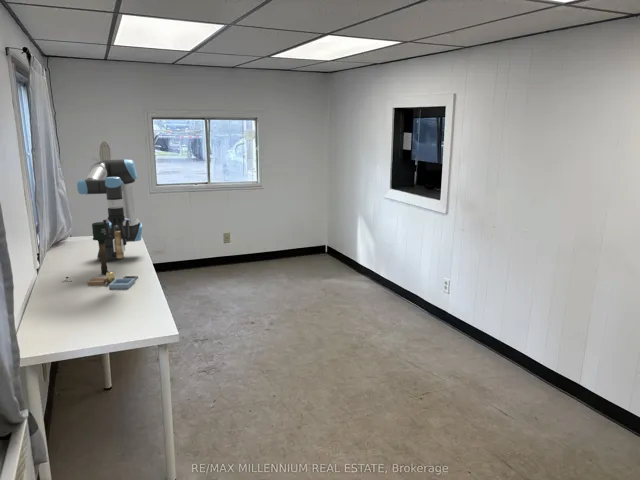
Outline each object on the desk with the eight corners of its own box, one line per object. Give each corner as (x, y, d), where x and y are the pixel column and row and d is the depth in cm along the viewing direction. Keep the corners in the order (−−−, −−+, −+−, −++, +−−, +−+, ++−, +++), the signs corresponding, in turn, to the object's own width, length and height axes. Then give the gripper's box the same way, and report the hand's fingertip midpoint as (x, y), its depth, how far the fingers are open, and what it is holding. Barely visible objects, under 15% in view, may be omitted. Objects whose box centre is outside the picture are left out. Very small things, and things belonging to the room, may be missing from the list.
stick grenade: (106, 276, 270) (101, 225, 263) (93, 275, 272) (87, 224, 265) (116, 272, 278) (111, 222, 271) (102, 271, 280) (97, 221, 273)
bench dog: (109, 281, 262) (107, 271, 260) (116, 281, 262) (115, 271, 260) (106, 284, 258) (104, 273, 256) (113, 284, 258) (112, 273, 256)
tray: (116, 282, 260) (116, 278, 259) (135, 282, 260) (134, 278, 259) (109, 289, 250) (108, 284, 249) (128, 289, 250) (128, 284, 250)
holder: (125, 278, 268) (125, 276, 268) (138, 278, 268) (137, 276, 268) (120, 282, 261) (120, 280, 261) (133, 282, 261) (133, 280, 261)
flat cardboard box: (93, 281, 263) (93, 277, 262) (108, 281, 264) (108, 277, 263) (88, 286, 255) (87, 282, 255) (103, 286, 256) (103, 281, 255)
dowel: (118, 256, 254) (115, 230, 250) (125, 256, 254) (122, 230, 250) (115, 258, 250) (113, 232, 247) (122, 258, 250) (120, 232, 247)
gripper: (96, 208, 242) (100, 253, 247) (129, 208, 242) (133, 252, 248) (102, 206, 249) (106, 249, 254) (134, 206, 250) (138, 249, 255)
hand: (119, 251), depth 251 cm, fingers closed on dowel, 3 cm apart
